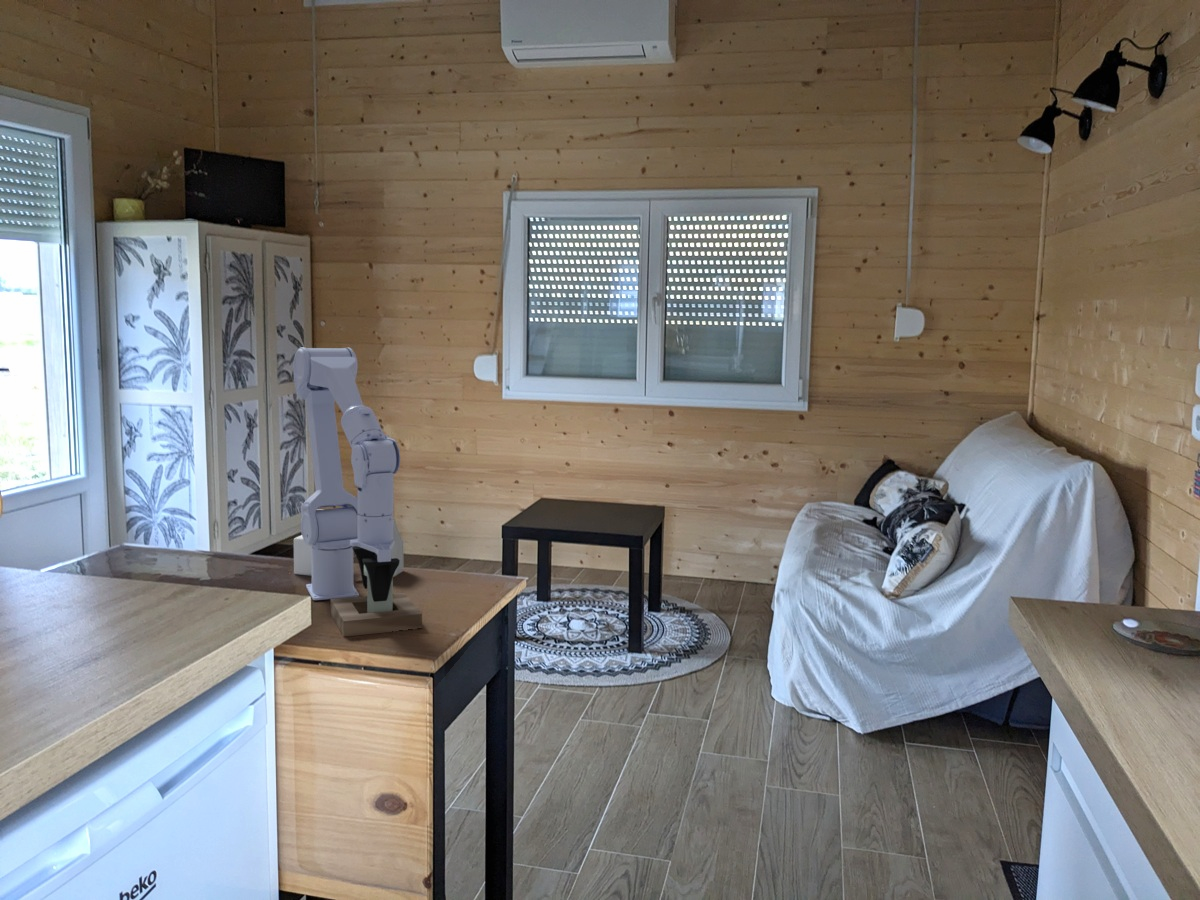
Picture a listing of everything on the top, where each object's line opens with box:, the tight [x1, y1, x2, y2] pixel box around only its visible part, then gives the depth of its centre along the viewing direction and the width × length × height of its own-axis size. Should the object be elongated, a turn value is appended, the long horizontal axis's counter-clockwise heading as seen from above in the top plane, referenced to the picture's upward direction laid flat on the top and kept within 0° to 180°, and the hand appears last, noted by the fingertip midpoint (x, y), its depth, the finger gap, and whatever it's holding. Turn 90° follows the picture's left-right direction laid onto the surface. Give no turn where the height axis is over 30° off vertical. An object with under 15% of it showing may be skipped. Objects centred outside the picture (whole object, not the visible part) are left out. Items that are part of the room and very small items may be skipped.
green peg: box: [364, 565, 397, 613], centre depth 164 cm, size 5×5×10 cm
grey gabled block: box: [391, 520, 404, 578], centre depth 192 cm, size 4×7×10 cm, turn 168°
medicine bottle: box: [293, 508, 324, 577], centre depth 192 cm, size 7×7×12 cm
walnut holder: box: [330, 592, 423, 637], centre depth 164 cm, size 12×12×2 cm
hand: (375, 594), depth 164 cm, fingers open, 7 cm apart
